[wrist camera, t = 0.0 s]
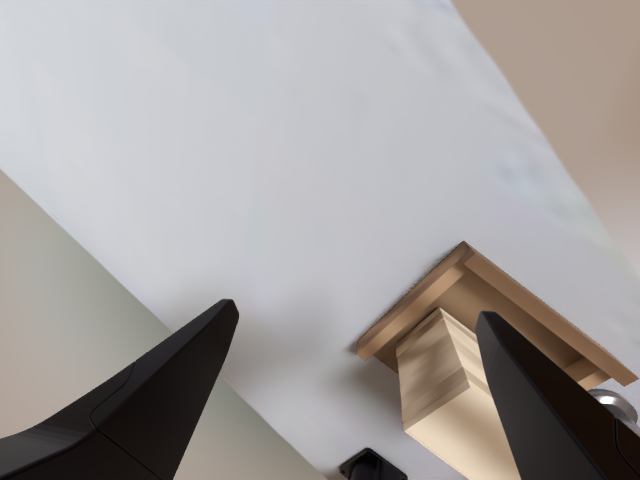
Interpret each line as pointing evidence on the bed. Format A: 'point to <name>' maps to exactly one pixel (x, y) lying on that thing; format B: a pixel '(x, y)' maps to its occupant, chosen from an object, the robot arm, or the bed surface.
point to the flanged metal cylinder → (618, 407)
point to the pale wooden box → (452, 399)
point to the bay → (502, 297)
